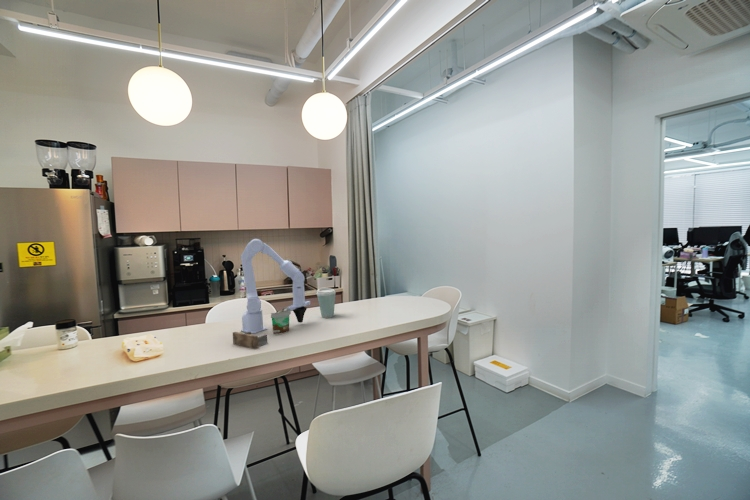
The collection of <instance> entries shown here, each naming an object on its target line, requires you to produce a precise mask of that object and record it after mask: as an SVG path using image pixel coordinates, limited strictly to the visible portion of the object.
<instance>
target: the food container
mask: <svg viewBox="0 0 750 500" xmlns="http://www.w3.org/2000/svg"><path fill="white" fill-rule="evenodd" d="M291 313H292V311H290V310H288V307H282V309H281V310H278V311H276V312H271V313H270V314H271V315H270V318H271V322H272V323H271V324H272V332H273V335H279V334H285V333H288V332H289V331H290V315H291Z"/></svg>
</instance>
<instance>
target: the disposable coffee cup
mask: <svg viewBox="0 0 750 500" xmlns="http://www.w3.org/2000/svg"><path fill="white" fill-rule="evenodd" d="M336 293H337V292H336V290H335V289H334V288H330V287H329V288H328V287H321V288H319V289H317V290H316V294H315V295H316V296H317V300H318V301H317V302H318V305H319V310H320V315H321V318H324V319H328V318H333V317H334V315H335V304H336Z"/></svg>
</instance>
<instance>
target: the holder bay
mask: <svg viewBox="0 0 750 500" xmlns="http://www.w3.org/2000/svg"><path fill="white" fill-rule="evenodd" d="M232 344H233V345H236V346H240V347H245V348H251V349H254V350H257V349H259V347H261V346H263V345H266V344H268V334H263V335H259V336H258V335H254V334H252V333H251V332H244V333H243V332H238V331H234V332H232Z"/></svg>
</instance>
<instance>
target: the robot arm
mask: <svg viewBox="0 0 750 500" xmlns="http://www.w3.org/2000/svg"><path fill="white" fill-rule="evenodd" d="M259 252H260V253H261V254H265V255H267V256H269V257H270V258H271V259H272V260H274V261H275V262H276V263H277V264H278V265H279V270H280V271H282V272H283V273H284V275H286V276H287V277H288V278H291V280H292V302H293V303H292V304H291V305H288V306H287V308H288V310H290V312H292V311H293V313H294V316H295V317H296V320H297V322H298V323H303V320H304V317H305V313H306V311H307V307H306V306H311V300H306V297H305V296H306V295H305V275H304V273H303V272H302V271H301V270H300V268H297V267H296V266H295V265H294V264H293V262H292V261H291V260H287V259H286V260H285V259H284V258H282V257H281V256H280V255H279V254H278V253H277V252H276V251H275V250H274V249H273V248H272V247H271V246H269V245H268V244H267V243H265V242H263V241H262V240H261V239H259V238H253V239H251V240H250V241H249V242H248V243H247V244H246V246H245V248H244V250H243V252H242V253H241V256H240V259H241V266H242V267H241V268H242V272H243V277H244V278H243V279H244V283H245V290H246V298H247V303H246V310H247V311H245V312H244V313H243V314H242V316H241V324H242V329H241V332H244V333H246V332H251V334H256V333H260V332H262V331H265V330H268V327H265V326H264V321H263V320H264V319H263V317H264V316H263V309H262V301H261V299H260V298H259V296H258V291H257V285H256V279H255V273H254V267H253V266H254V265H253V259H254V257H255V256H256V255H257V254H259Z"/></svg>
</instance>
